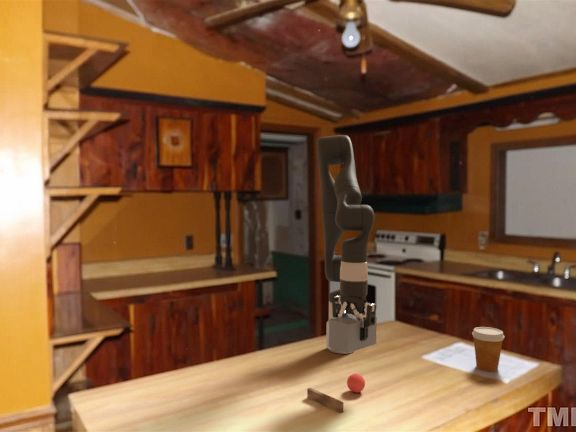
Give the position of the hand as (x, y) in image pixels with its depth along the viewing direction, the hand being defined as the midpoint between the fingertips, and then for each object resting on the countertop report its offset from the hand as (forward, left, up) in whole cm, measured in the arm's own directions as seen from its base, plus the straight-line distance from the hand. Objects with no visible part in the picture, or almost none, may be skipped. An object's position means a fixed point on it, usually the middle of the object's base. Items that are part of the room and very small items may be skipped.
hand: (352, 337), depth 134 cm
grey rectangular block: (0, 0, -2) cm, 2 cm away
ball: (0, +1, -13) cm, 13 cm away
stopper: (0, -11, -16) cm, 19 cm away
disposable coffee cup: (+16, +47, -16) cm, 52 cm away
